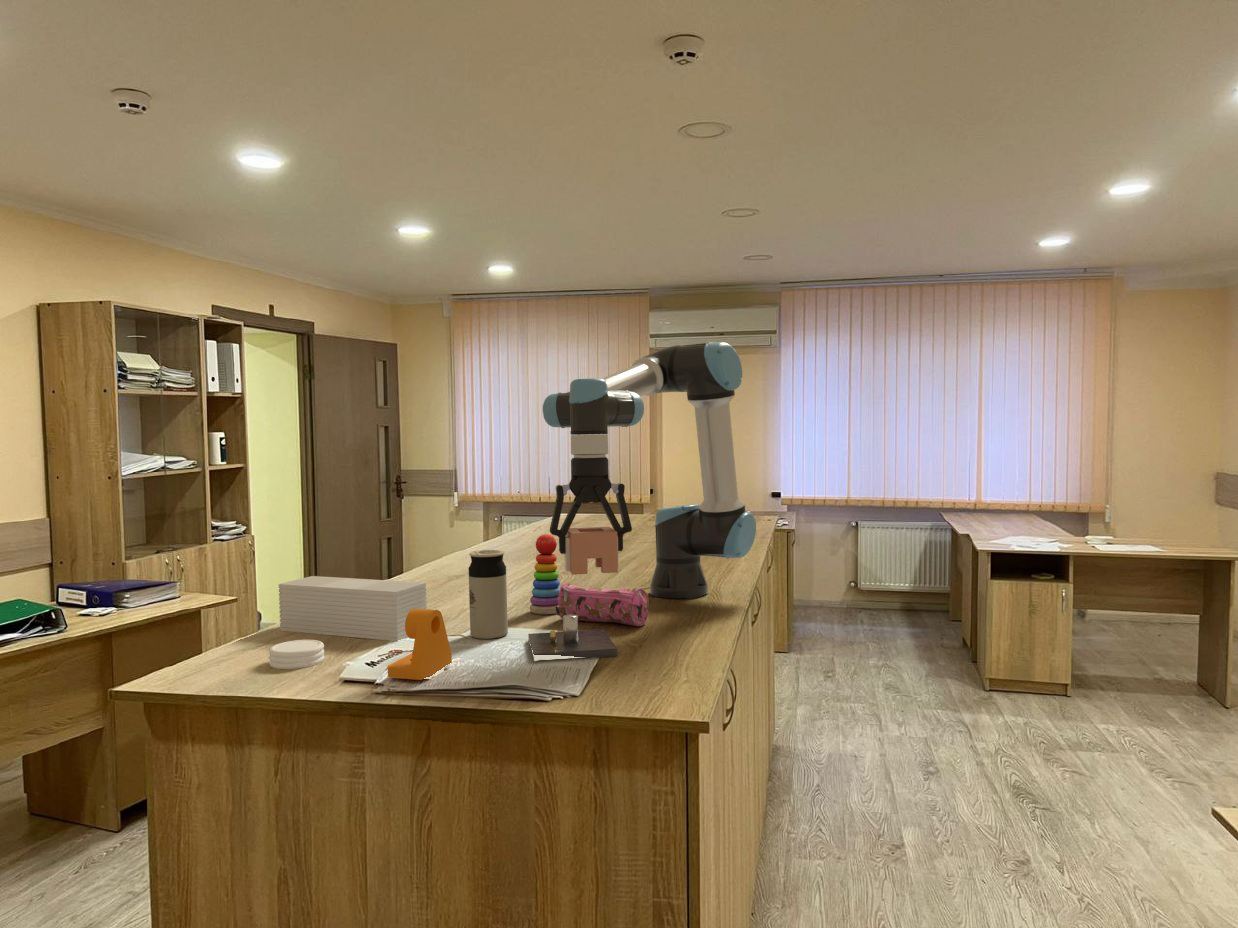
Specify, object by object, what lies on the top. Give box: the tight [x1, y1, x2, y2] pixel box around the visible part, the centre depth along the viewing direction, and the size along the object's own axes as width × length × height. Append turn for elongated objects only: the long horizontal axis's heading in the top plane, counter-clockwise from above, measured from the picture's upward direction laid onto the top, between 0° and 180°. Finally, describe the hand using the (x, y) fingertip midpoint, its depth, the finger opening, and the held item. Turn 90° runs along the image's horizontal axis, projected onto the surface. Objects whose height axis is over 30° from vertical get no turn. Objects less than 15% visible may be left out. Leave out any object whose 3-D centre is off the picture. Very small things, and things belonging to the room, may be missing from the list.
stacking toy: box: [529, 533, 561, 615], centre depth 204 cm, size 8×8×19 cm
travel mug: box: [468, 549, 509, 640], centre depth 182 cm, size 8×8×18 cm
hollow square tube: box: [566, 526, 619, 576], centre depth 170 cm, size 9×9×8 cm
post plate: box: [528, 615, 618, 658], centre depth 170 cm, size 16×16×6 cm
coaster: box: [268, 639, 326, 670], centre depth 164 cm, size 10×10×4 cm
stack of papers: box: [278, 575, 427, 642], centre depth 189 cm, size 32×11×11 cm, turn 68°
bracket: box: [387, 608, 453, 681], centre depth 154 cm, size 11×7×12 cm, turn 162°
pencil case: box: [555, 581, 650, 627], centre depth 191 cm, size 21×9×9 cm, turn 63°
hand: (591, 568), depth 170 cm, fingers closed on hollow square tube, 9 cm apart
